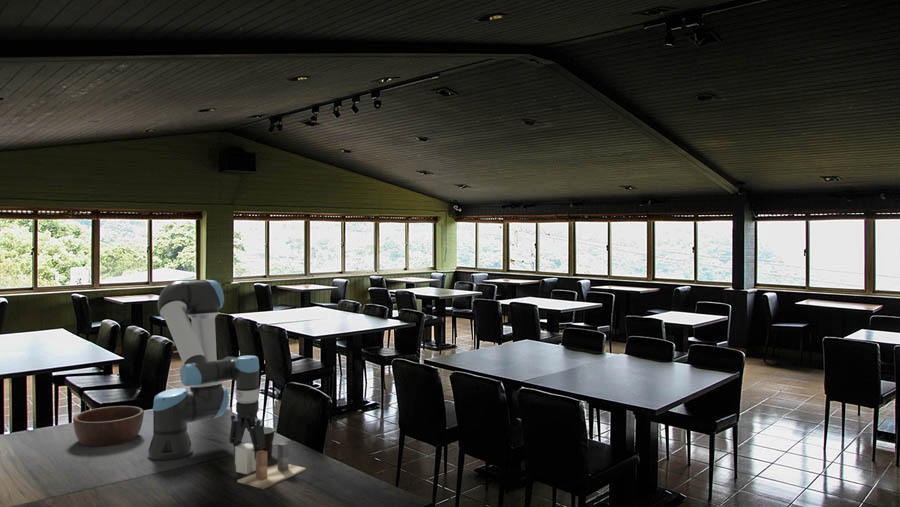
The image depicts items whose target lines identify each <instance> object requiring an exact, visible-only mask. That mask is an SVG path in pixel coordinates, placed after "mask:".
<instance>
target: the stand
mask: <svg viewBox="0 0 900 507" xmlns="http://www.w3.org/2000/svg"><path fill="white" fill-rule="evenodd" d="M289 446H290V444H289V443H288V442H286V441H285V442H280V443H277V463H275V464H273V465H270V466H268V459H267V451H263V450H261V451H259V452H256V471H255V472H252V473H250V474H247V475H246V476H244V477H242V478H239V479H237V481H236V482H237V483H240V484H243V485H245V486H246V485H247V486H251V487H255V488H257V489H261V490H265V489H267V488H269V487H272V486H274V485H276V484H278V483H280V482H283V481H285V480H287V479H289V478H291V477H293V476H295V475H298V474H300V473H303V472H304V471H306V470H307V467H302V466H298V465H296V464H295V465H294V464H291V463H289V462H290V460H289V458H290V457H289V450H290V449H289Z"/></svg>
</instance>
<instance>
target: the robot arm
mask: <svg viewBox="0 0 900 507" xmlns="http://www.w3.org/2000/svg"><path fill="white" fill-rule="evenodd" d="M224 302H225V296H224V291H223V288H222V286H221V285H220V283H219V281H217V280H212V279H199V280H192V279H191V280H176V281H172V282H171V283H169V284H168V285H166V286H165V287H164V288H163V289H162V291H161V292H160V293H159V296H158V301H157V309H158V313H159V316H160V318H161V319H163V320H164V321H165V322H166V325H167V327H168V330H169V332H170V335H171V337H172V340H173V342H174V345H175V347H176V349H177V352H178V354H179V357H180V359H181V362H182V364H183V365H182V366H180V368H179V377H180V382H181V384H182V385H184V386H185V387H189V390H188V389H187V388H182V387H181V388H180V387H179V388H171V389H167V390H163V391H161V392H159V393H158V394H156V395H155V396H154V399H153V406H152V410H153V412H152V413H153V414H152V415H153V416H152V417H153V422H152V423H153V425H152V426H153V431H152V432H153V435H152V438H151V441H150V445H149V446H148V450H147V457H148V458H149V459H151V460H157V461H158V460H159V461H169V460H175V459H180V458H183V457H186V456H188V455H190V454H191V453H192V452H193V443H192V440H191V439H190V436H189V433H188V432H189V431H188V424H189V423H194V422H198V421H205V420H209V419H210V420H211V419H215V418H218V417H222V416H223V415H225V413H226V411H227V409H228V404H229V400H230V399H229V392H228V389H227V387H226V386H223V382H225V381H226V382H227V381H235V383H236V385H235V390H236V391H235V393H236V396H235V400H236V402H235V409H236V410H235V412H236V413H235V414H233V415H231V416H230V419H231V425H230V434H229V444H233V454H234V466H236V447H238V446H240V445H243V442H242V441H243V438H244V435H245V431H246V429H247V432H249V435H250V440H252V441H251V444H253V447H254V450H252V469H253V470H254V469H256V452H259V451H261V449H263V448H265V447H266V446H265V436H264V427H265V426H264V425H265V420H264V418H262V419H260V418H258V417H259V416H258V412H259V410H260V409H259V408H260V407H259V406H260V401H259V399H260V394H259V393H260V392H259V391H260V386H259V385H260V384H259V382H260V360H259V357H258V356H256V355H241V356H237V357H236V356H226V357H224V358H223V359H217V358H218V357H217V340H216V339H217V338H216V337H217V336H216V317H217V316H218V314H219V312H220V311H219V309H221V308H223V306H224ZM190 319H191V321H190ZM257 445H258V446H257Z"/></svg>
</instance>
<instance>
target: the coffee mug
mask: <svg viewBox="0 0 900 507" xmlns="http://www.w3.org/2000/svg"><path fill="white" fill-rule="evenodd" d="M275 431H276V429H275V427H274V428H273V427H270V426H264V436H265V446H266V447H265V448H263V449H261V450H263V451H267V460H269V459H271V458H272V454H273V448H274V446H273V445H274V439H275ZM250 440H251V439H250ZM251 442H252V440H251Z"/></svg>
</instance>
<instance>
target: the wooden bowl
mask: <svg viewBox="0 0 900 507" xmlns="http://www.w3.org/2000/svg"><path fill="white" fill-rule="evenodd" d="M144 415H145V411H144V409H143V408H141V407H139V406H132V405H131V406H130V405H115V406H105V407H104V406H103V407H99V408H98V407H97V408H93V409H88V410H86V411H85V410H84V411H82V412H80V413H77V414H75V415H74V416H73V417H72V418H73V419H72V422H73V429H74V433H75V436H76V438H77V440H78V442H79V443H81V444H82V445H84V446H87V447H88V446H89V447H108V446H115V445H119V444H123V443H126V442H127V443H128V442H129V441H131V440H132V441H133V440H134V439H135V438H136V437H137V436H138V435H139V433H140V432H141V429H142V426H143V421H144Z"/></svg>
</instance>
